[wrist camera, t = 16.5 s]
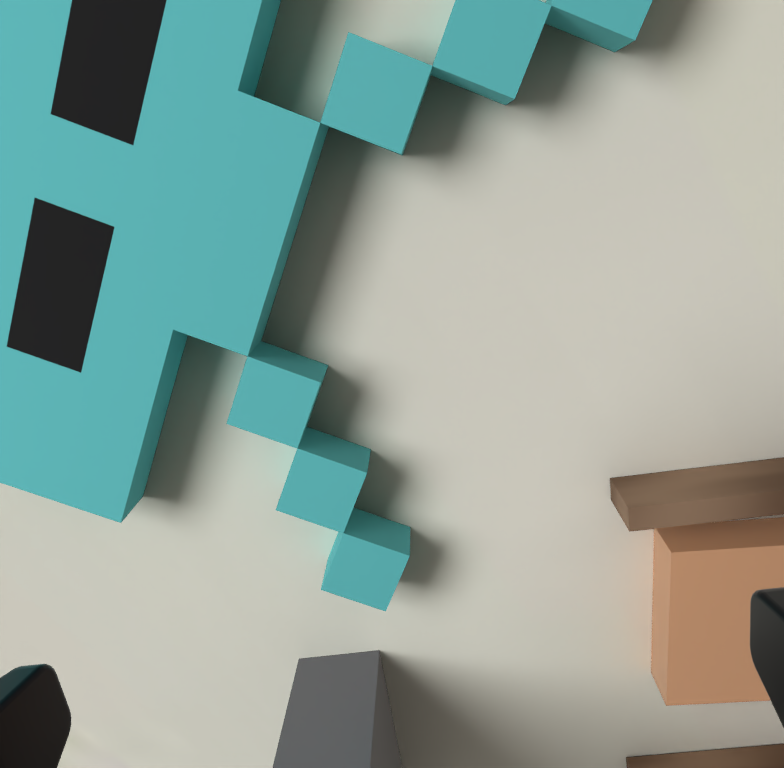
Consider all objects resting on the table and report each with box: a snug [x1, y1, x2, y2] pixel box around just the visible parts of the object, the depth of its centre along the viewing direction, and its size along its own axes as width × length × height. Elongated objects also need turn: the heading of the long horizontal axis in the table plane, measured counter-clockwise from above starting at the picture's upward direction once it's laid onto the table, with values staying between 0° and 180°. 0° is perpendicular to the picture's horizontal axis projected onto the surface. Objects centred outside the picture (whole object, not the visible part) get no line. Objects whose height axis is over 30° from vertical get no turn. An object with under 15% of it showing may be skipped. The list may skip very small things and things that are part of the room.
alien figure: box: [0, 0, 653, 611], centre depth 19 cm, size 20×2×20 cm
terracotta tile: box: [651, 517, 784, 706], centre depth 22 cm, size 6×6×2 cm
